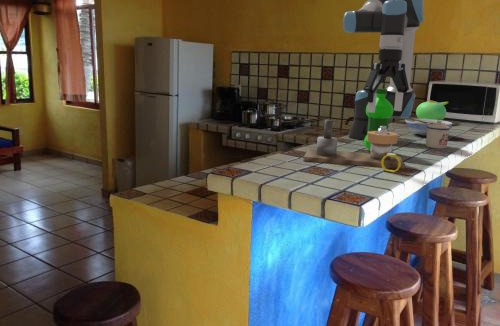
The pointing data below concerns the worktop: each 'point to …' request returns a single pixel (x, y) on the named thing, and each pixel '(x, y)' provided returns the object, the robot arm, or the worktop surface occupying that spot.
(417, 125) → the ramen bowl
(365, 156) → the tool board
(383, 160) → the watch
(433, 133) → the teacup with lid
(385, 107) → the plastic bottle
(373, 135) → the octagonal notched ring
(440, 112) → the green pumpkin
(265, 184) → the worktop surface
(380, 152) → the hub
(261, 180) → the worktop surface
